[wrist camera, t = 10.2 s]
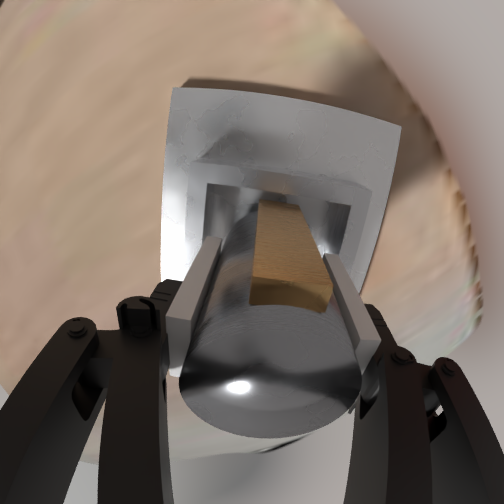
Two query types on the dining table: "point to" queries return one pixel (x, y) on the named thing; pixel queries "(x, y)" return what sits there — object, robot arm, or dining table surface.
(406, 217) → the dining table surface
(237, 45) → the dining table surface
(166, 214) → the collar
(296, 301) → the grey rounded cylinder
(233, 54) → the dining table surface
